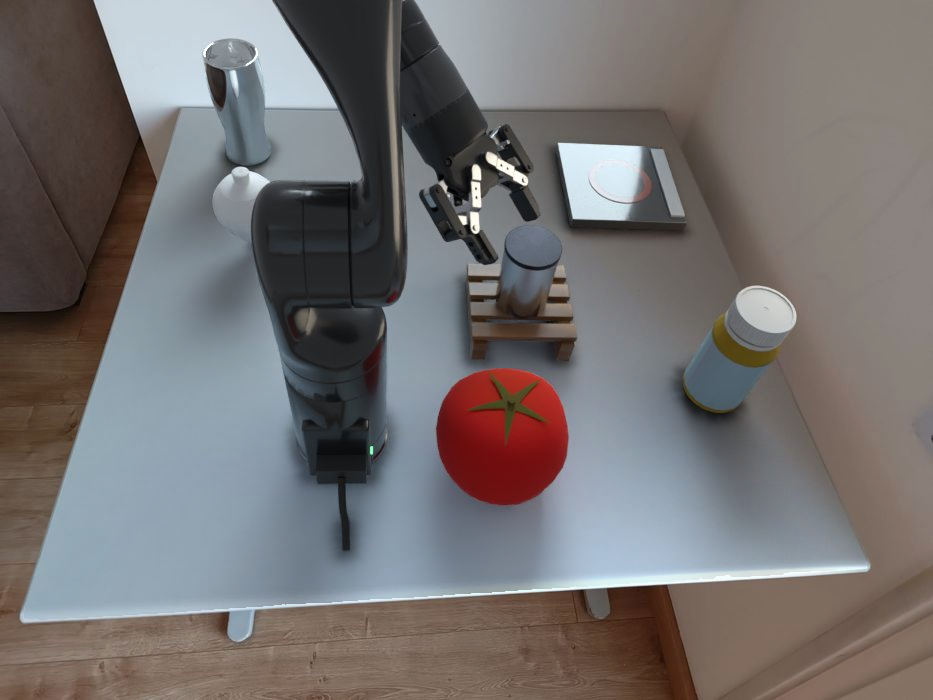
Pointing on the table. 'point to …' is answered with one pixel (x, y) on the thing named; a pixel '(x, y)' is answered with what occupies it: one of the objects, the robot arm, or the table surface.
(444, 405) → the tomato
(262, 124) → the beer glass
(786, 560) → the table surface
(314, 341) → the robot arm
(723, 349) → the bottle
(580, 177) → the stove
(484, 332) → the wooden pallet
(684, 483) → the table surface
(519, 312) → the metal canister
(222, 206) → the spinning top
